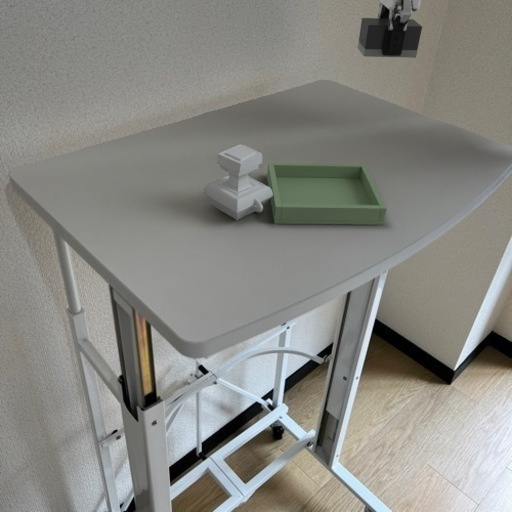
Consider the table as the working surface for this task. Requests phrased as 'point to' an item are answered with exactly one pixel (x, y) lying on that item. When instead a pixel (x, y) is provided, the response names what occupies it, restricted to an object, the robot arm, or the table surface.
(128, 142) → the table surface
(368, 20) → the eraser
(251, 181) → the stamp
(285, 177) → the tray
